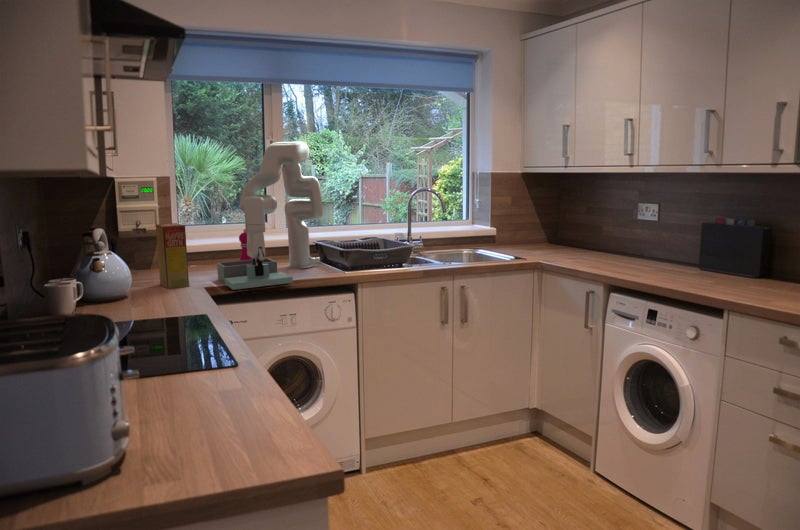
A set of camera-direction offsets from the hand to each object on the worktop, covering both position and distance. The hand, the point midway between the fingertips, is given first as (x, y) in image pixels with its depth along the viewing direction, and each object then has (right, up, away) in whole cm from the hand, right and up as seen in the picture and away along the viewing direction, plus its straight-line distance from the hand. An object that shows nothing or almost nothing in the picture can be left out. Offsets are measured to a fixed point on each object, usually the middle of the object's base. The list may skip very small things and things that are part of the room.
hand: (258, 274), depth 252 cm
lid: (0, -3, +1) cm, 4 cm away
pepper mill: (-12, 0, +35) cm, 37 cm away
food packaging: (-37, -5, +11) cm, 39 cm away
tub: (-8, -3, +16) cm, 18 cm away
